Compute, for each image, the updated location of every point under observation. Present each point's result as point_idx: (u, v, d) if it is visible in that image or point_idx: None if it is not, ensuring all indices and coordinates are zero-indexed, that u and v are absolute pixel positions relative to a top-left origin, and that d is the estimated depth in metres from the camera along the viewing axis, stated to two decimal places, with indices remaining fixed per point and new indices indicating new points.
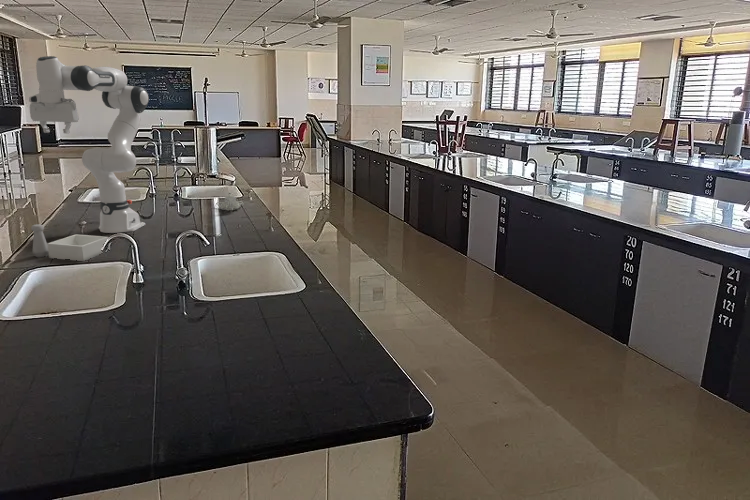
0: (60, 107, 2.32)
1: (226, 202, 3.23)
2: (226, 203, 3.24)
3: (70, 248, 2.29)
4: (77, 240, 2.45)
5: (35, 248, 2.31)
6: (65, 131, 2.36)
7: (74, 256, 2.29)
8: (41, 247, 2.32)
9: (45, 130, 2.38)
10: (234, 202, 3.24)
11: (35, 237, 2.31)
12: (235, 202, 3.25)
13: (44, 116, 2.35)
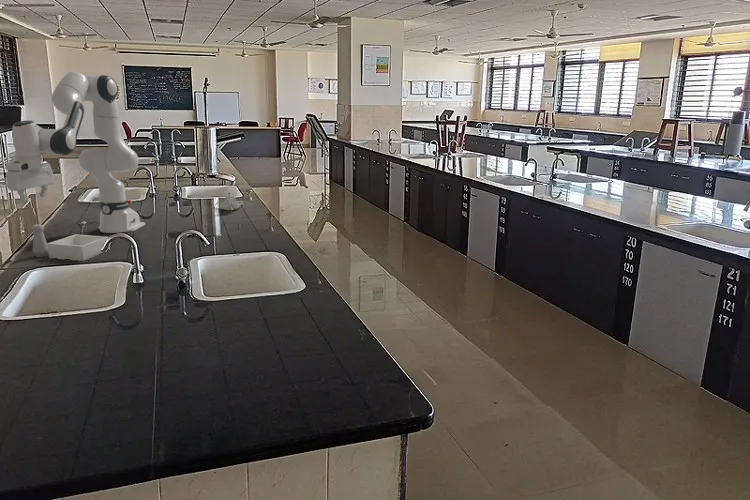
0: (43, 171, 2.30)
1: (226, 202, 3.23)
2: (226, 203, 3.24)
3: (70, 248, 2.29)
4: (77, 240, 2.45)
5: (35, 248, 2.31)
6: (45, 194, 2.33)
7: (74, 256, 2.29)
8: (41, 247, 2.32)
9: (26, 198, 2.24)
10: (234, 202, 3.25)
11: (35, 237, 2.31)
12: (235, 202, 3.25)
13: (28, 183, 2.24)
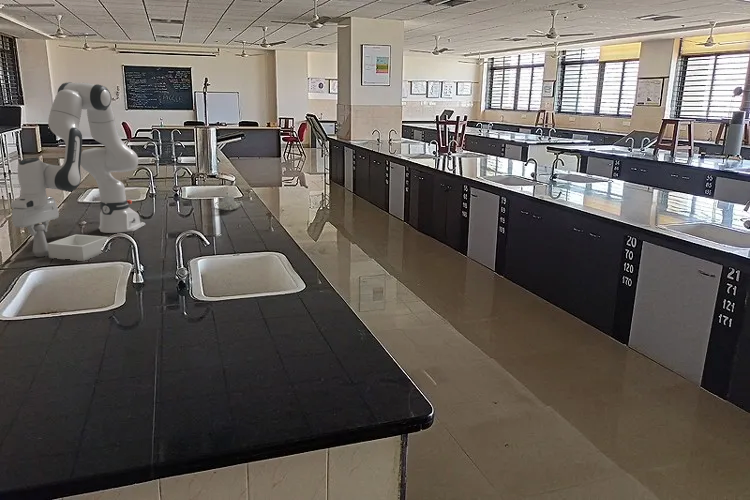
0: (48, 206, 2.34)
1: (224, 202, 3.23)
2: (224, 203, 3.24)
3: (70, 248, 2.29)
4: (77, 240, 2.45)
5: (35, 248, 2.31)
6: (46, 230, 2.35)
7: (74, 256, 2.29)
8: (41, 246, 2.32)
9: (35, 233, 2.30)
10: (232, 202, 3.24)
11: (35, 236, 2.31)
12: (233, 202, 3.25)
13: (34, 220, 2.27)
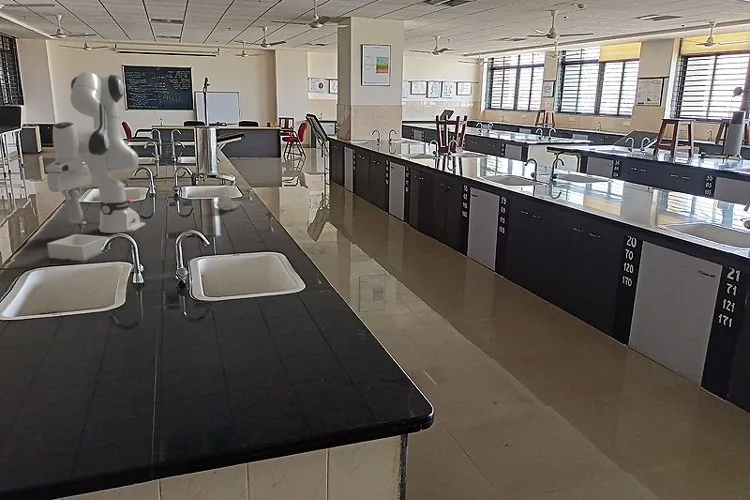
0: (82, 172, 2.33)
1: (221, 202, 3.23)
2: (221, 203, 3.24)
3: (70, 248, 2.29)
4: (77, 240, 2.45)
5: (70, 214, 2.31)
6: (79, 196, 2.35)
7: (74, 256, 2.29)
8: (76, 212, 2.32)
9: (70, 198, 2.29)
10: (229, 202, 3.24)
11: (70, 202, 2.31)
12: (230, 202, 3.25)
13: (68, 185, 2.27)
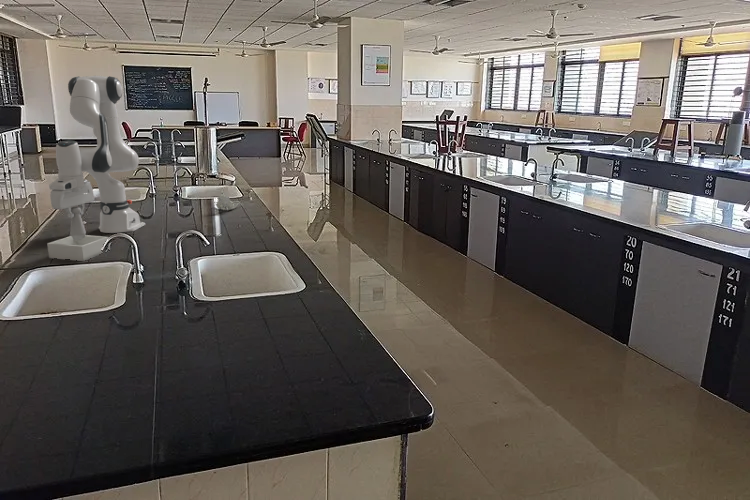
0: (84, 189, 2.35)
1: (220, 202, 3.23)
2: (220, 203, 3.24)
3: (70, 248, 2.29)
4: (77, 240, 2.45)
5: (73, 231, 2.33)
6: (82, 213, 2.36)
7: (74, 256, 2.29)
8: (79, 229, 2.33)
9: (72, 215, 2.31)
10: (228, 202, 3.24)
11: (73, 219, 2.32)
12: (229, 202, 3.25)
13: (71, 202, 2.29)
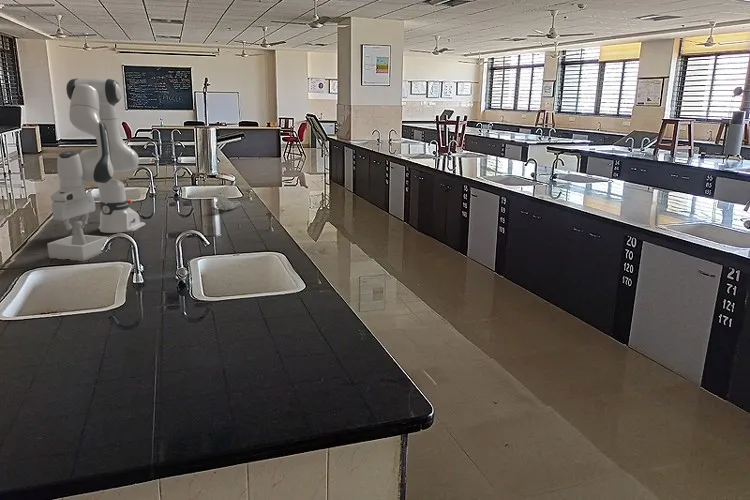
0: (86, 200, 2.37)
1: (219, 202, 3.23)
2: (219, 203, 3.24)
3: (70, 248, 2.29)
4: None
5: (74, 244, 2.34)
6: (86, 222, 2.39)
7: (74, 256, 2.29)
8: (80, 243, 2.35)
9: (71, 226, 2.31)
10: (227, 202, 3.24)
11: (74, 233, 2.34)
12: (228, 202, 3.25)
13: (72, 213, 2.30)
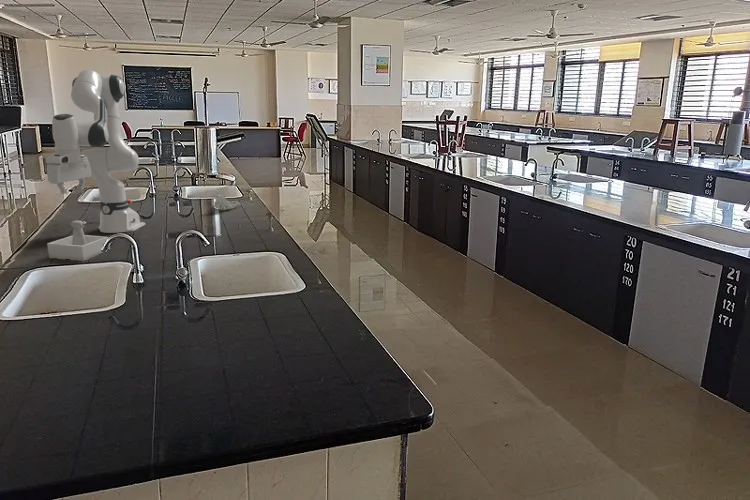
0: (81, 164, 2.33)
1: (217, 202, 3.24)
2: (217, 203, 3.24)
3: (70, 248, 2.29)
4: None
5: (74, 244, 2.35)
6: (82, 187, 2.36)
7: (74, 256, 2.29)
8: (80, 243, 2.35)
9: (66, 191, 2.27)
10: (225, 202, 3.24)
11: (75, 233, 2.34)
12: (226, 202, 3.25)
13: (68, 176, 2.26)
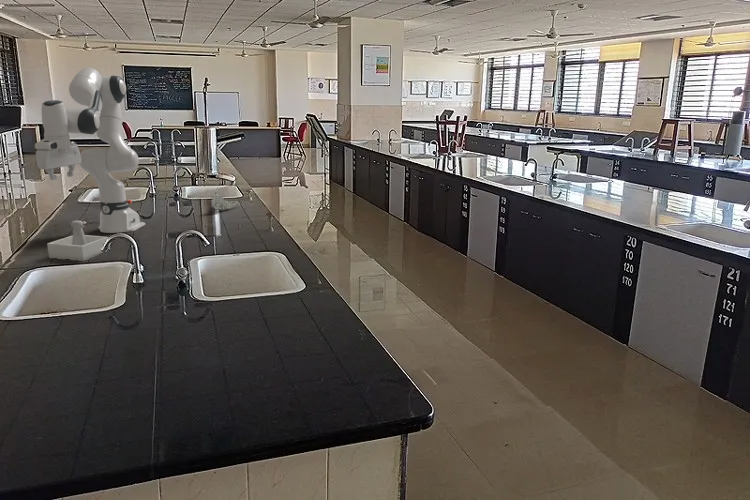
0: (71, 151, 2.33)
1: (215, 202, 3.24)
2: (215, 202, 3.24)
3: (70, 248, 2.29)
4: None
5: (74, 244, 2.35)
6: (72, 174, 2.36)
7: (74, 256, 2.29)
8: (80, 243, 2.35)
9: (55, 177, 2.27)
10: (223, 202, 3.24)
11: (75, 233, 2.34)
12: (224, 202, 3.25)
13: (57, 163, 2.26)
